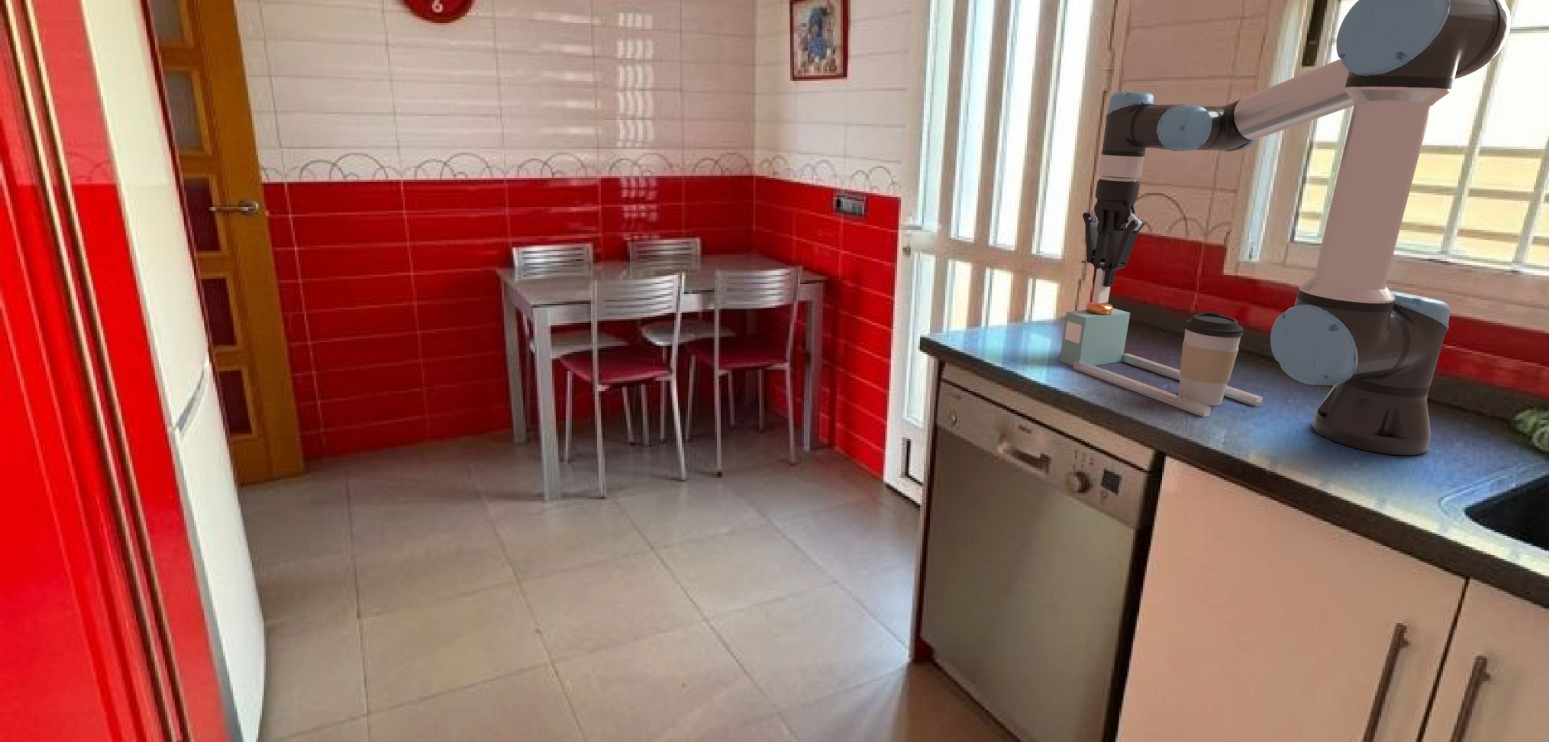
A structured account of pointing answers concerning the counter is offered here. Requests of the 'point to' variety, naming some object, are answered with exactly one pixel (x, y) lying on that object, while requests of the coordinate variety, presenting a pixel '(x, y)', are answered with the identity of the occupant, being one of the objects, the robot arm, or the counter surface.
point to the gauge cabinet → (1094, 337)
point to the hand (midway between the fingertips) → (1099, 301)
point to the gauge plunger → (1099, 308)
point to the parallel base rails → (1158, 393)
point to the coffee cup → (1208, 357)
